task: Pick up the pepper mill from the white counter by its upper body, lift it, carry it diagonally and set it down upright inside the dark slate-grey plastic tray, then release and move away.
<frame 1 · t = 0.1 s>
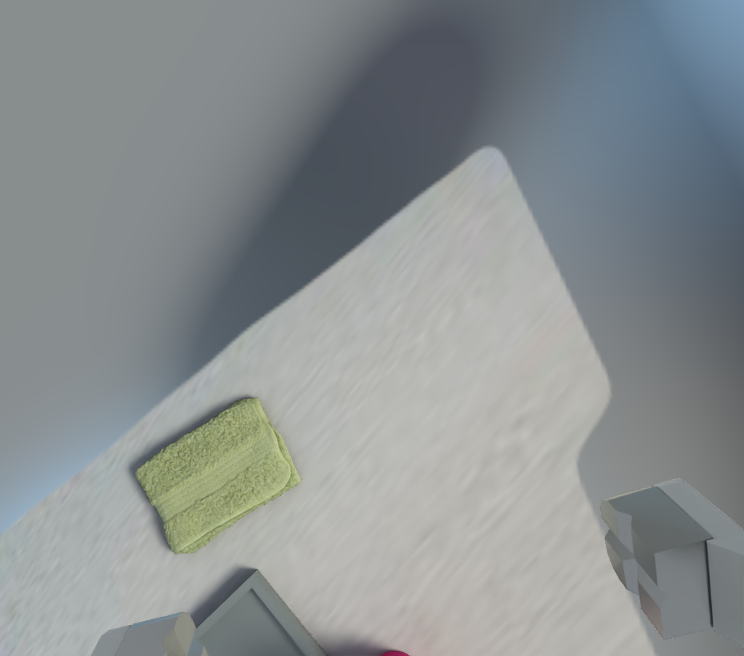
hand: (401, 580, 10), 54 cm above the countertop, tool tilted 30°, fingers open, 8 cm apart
slate tray: (251, 655, 59), on the countertop
washcloth: (222, 472, 64), on the countertop
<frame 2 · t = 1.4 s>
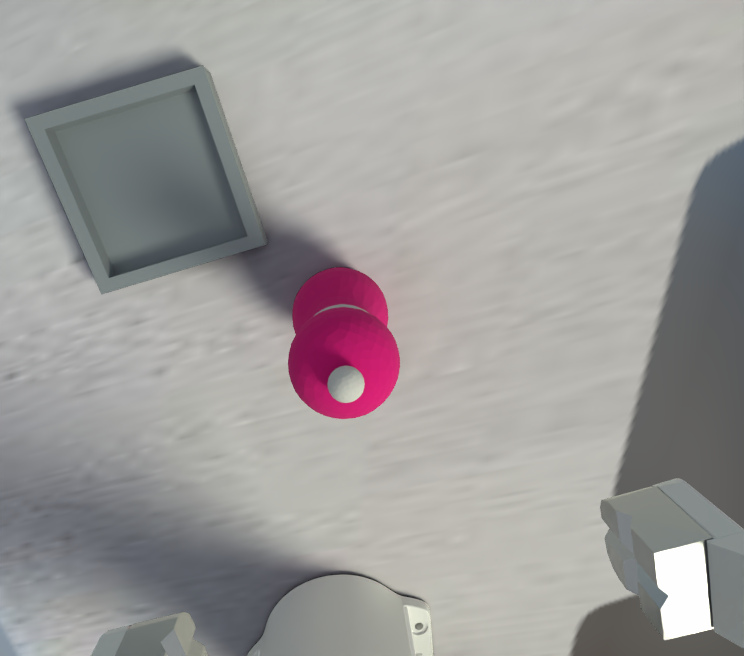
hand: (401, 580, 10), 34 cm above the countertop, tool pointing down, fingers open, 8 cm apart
slate tray: (159, 185, 40), on the countertop
pepper mill: (339, 303, 43), on the countertop
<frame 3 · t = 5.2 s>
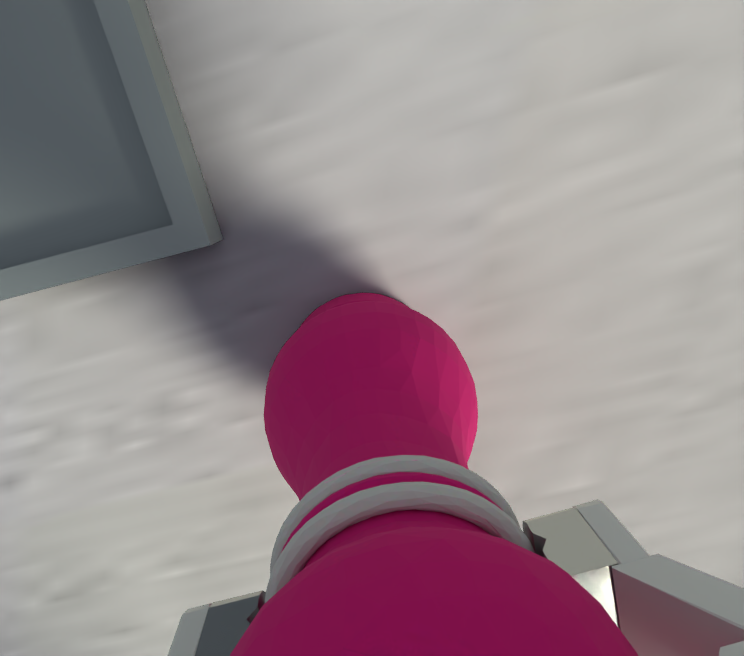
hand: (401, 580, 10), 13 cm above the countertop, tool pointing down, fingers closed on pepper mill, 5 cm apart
pepper mill: (362, 361, 22), on the countertop, touching gripper
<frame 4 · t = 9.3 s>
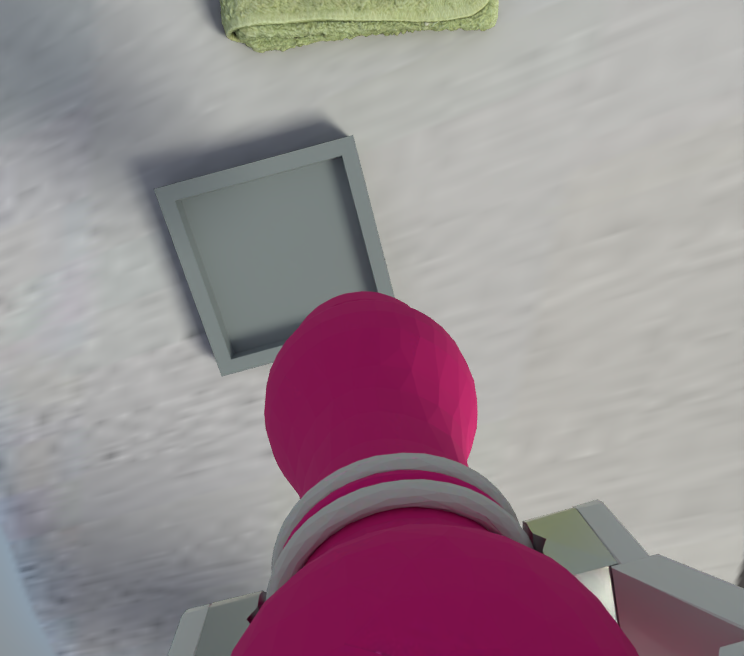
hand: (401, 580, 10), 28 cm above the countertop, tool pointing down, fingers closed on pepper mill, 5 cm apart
slate tray: (287, 257, 36), on the countertop
pepper mill: (362, 360, 22), point 15 cm above the countertop, touching gripper
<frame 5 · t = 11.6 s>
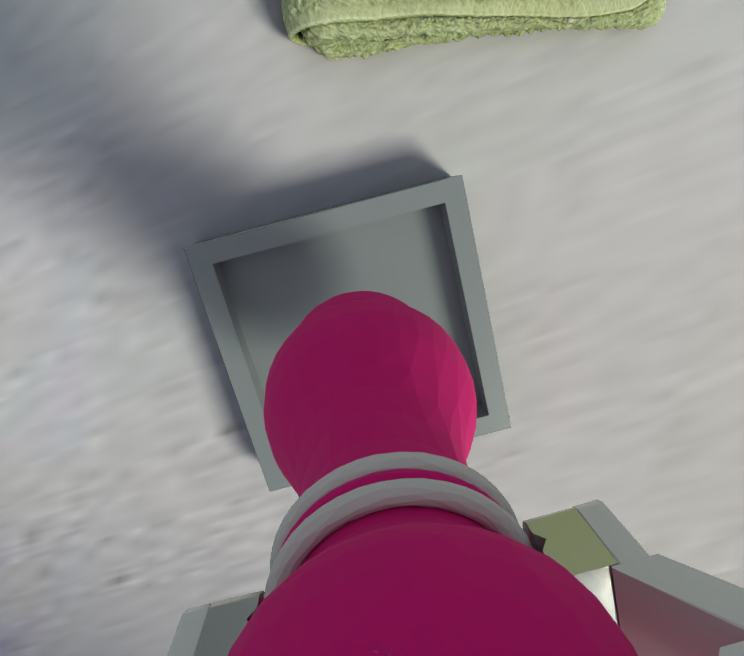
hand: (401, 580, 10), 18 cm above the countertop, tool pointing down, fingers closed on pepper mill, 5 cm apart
slate tray: (357, 332, 27), on the countertop
pepper mill: (361, 359, 22), point 5 cm above the countertop, touching gripper
when the fingers open (14 cm above the countertop, at t = 13.2 s): pepper mill stays where it is, resting on slate tray.
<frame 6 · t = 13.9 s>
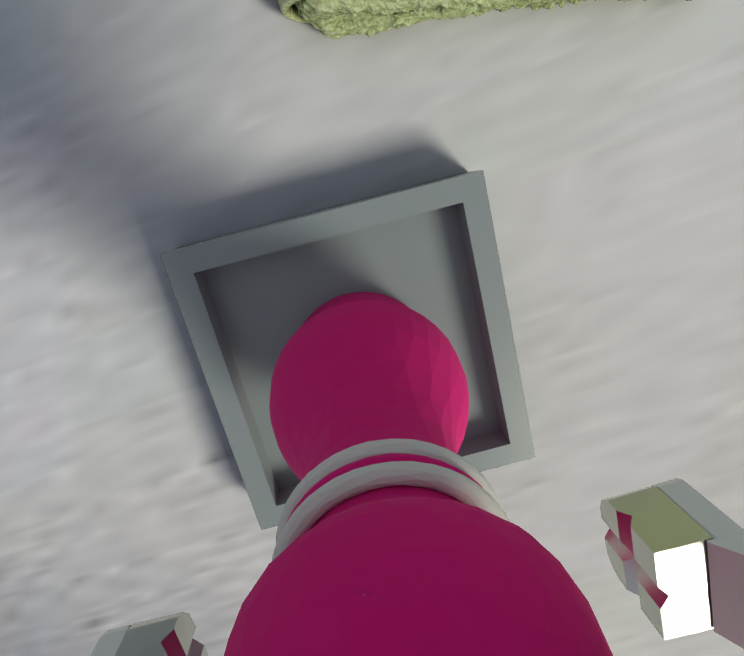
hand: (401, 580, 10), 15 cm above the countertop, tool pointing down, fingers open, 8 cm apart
slate tray: (360, 348, 24), on the countertop
pepper mill: (362, 357, 23), point 1 cm above the countertop, touching slate tray
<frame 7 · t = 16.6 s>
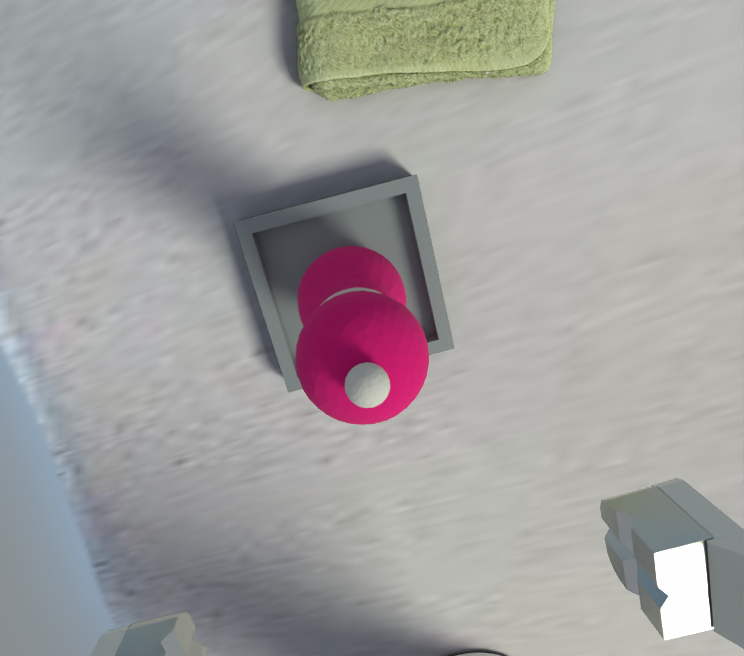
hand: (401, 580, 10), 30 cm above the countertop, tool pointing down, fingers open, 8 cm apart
slate tray: (348, 283, 39), on the countertop
pepper mill: (349, 287, 39), point 1 cm above the countertop, touching slate tray
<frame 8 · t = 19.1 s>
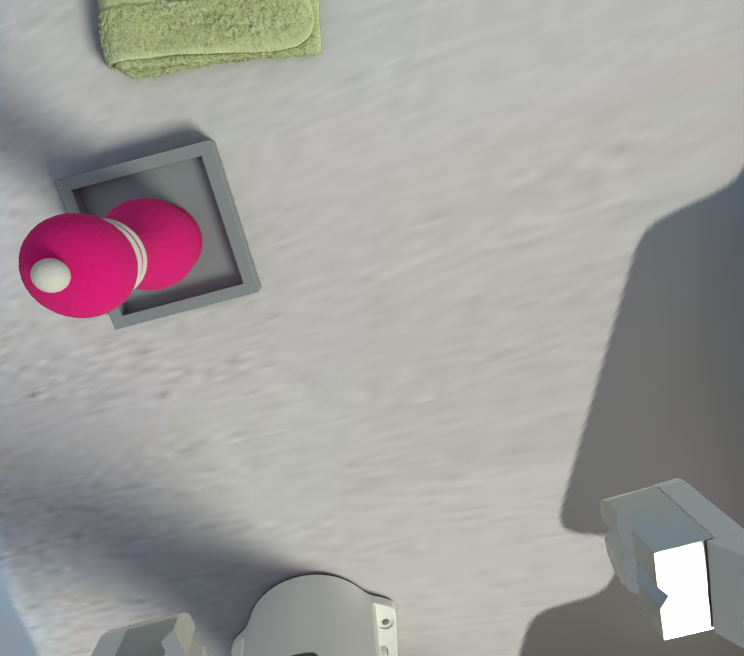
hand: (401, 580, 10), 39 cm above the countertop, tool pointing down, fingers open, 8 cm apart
slate tray: (168, 236, 45), on the countertop
pepper mill: (167, 239, 45), point 1 cm above the countertop, touching slate tray
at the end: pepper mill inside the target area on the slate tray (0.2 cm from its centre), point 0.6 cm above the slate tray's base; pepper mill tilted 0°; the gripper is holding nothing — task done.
